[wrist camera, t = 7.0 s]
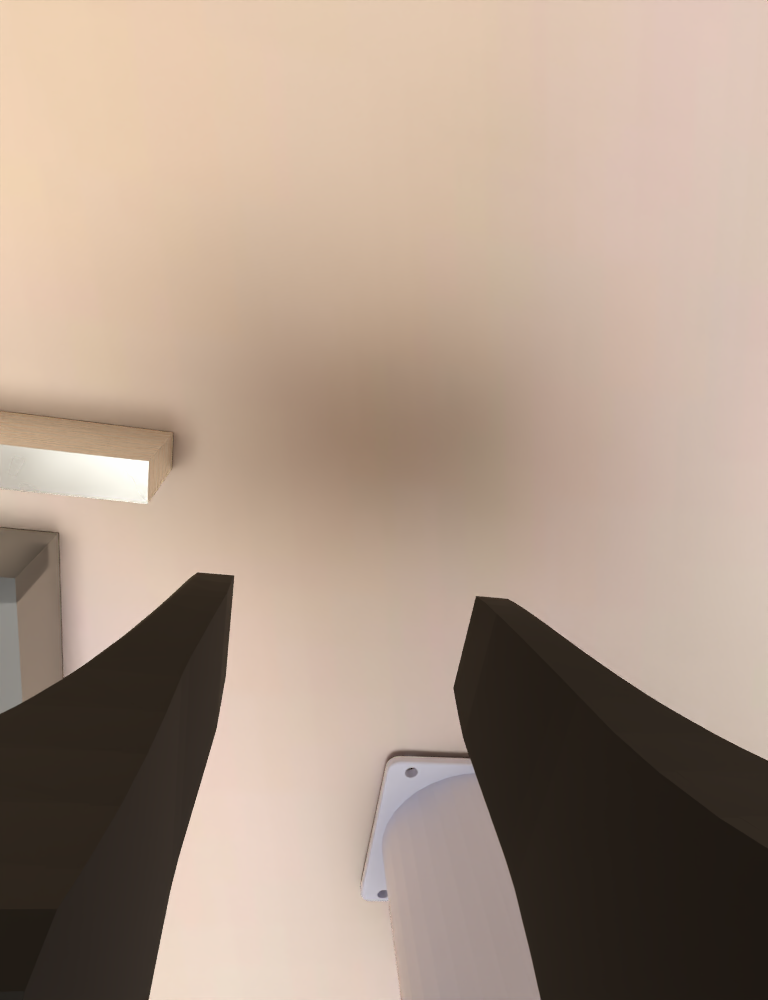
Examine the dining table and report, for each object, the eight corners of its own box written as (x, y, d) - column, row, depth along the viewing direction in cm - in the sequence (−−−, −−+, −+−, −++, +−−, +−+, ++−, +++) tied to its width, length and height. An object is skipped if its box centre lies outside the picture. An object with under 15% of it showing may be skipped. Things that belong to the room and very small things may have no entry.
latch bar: (173, 432, 18) (148, 461, 15) (171, 468, 18) (147, 503, 16) (-41, 406, 17) (-110, 431, 14) (-38, 445, 17) (-104, 478, 15)
